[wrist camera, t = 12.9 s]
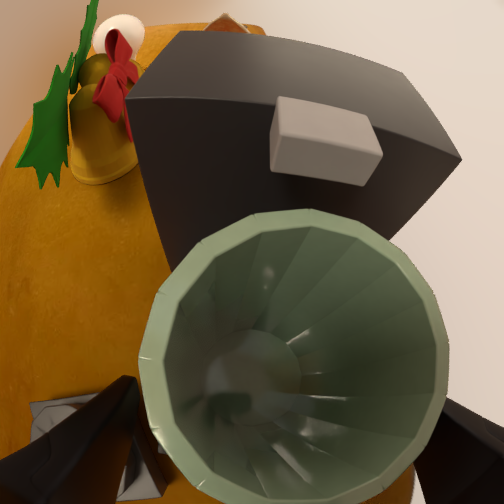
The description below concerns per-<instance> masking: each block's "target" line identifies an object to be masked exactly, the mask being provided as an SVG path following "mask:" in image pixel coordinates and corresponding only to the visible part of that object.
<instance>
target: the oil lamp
mask: <svg viewBox="0 0 504 504" xmlns="http://www.w3.org/2000/svg"><path fill="white" fill-rule="evenodd" d="M203 31H224V32H238V33H249V34H251V33H250V32H249V31H248V30H247V26H245V25H242V24H240V23H239V22H237V21H236V20H235V19H233V18H232V17H230V16H229V14H227V13H223V14H222V15H221V16H220V17H219V18H217V19H215V20H214V21H212V22H211V23H209V24H208V25H207V26H206V27H205V29H204V30H203Z"/></svg>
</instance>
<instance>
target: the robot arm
mask: <svg viewBox="0 0 504 504" xmlns="http://www.w3.org/2000/svg"><path fill="white" fill-rule="evenodd" d="M139 402H140V393H139V389H138V383H137V379H136V378H135V377H133V376H128V375H123V376H121V377H120V378H118V379H117V380H116V381H114V382H113V383H112V384H110V385H109V386H108V387H107V388H105V389H104V390H103V391H101V392H100V393H99V394H97V395H96V396H95V397H93V398H92V399H91V400H89V401H88V402H87V403H85V404H84V405H83V406H81V407H80V408H79V409H77V410H76V411H75V412H73V413H72V414H71V415H69V416H68V417H67V418H65V419H64V420H63V421H61V422H60V423H58V424H57V425H56V426H54V427H53V428H52V429H50V430H49V433H48V432H46V433H45V434H43V435H42V436H41V437H39V438H38V439H36V440H35V441H33V442H32V443H30V444H29V445H27V446H25V447H24V448H22V449H20V450H18V451H17V452H15V453H13V454H11V455H9V456H7V457H5V458H3V459H1V460H0V504H115V502H116V498H117V494H118V490H119V487H120V483H121V479H122V476H123V472H124V468H125V465H126V462H127V458H128V455H129V451H130V448H131V444H132V441H133V435H134V430H135V424H136V418H137V412H138V407H139ZM413 463H414V466H415V470H416V473H417V476H418V479H419V482H420V485H421V488H422V492H423V495H424V499H425V502H426V504H504V427H501V426H499V425H497V424H495V423H493V422H491V421H489V420H487V419H486V418H482V416H480V415H478V414H476V413H474V412H472V411H471V410H469V409H467V408H465V407H464V406H461V405H460V404H458V403H456V402H454V401H453V400H451V399H449V398H447V397H446V400H445V403H444V406H443V409H442V411H441V414H440V416H439V419H438V421H437V424H436V426H435V428H434V431H433V433H432V435H431V437H430V439H429V442H428V444H427V446H426V447H425V448H424V450H423V451H422V452H421V454H420V455H419V456H418V457H417V458H416V459H415V460H414V461H413Z"/></svg>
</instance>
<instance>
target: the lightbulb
mask: <svg viewBox="0 0 504 504" xmlns="http://www.w3.org/2000/svg"><path fill="white" fill-rule="evenodd" d="M111 29H118V30H119V31H120V32H121V34H122V35H123V36H124V38H125V39H126V40H127V42H128V43H129V45H130V46H131V47H132V49H133V53H132V56H131V58H130V59H132V60H134V61H135V60H136V55H137V52H138V51H139V49H140V47H141V45H142V43H143V41H144V38H145V29H144V26H143V24H142V22H141V21H140V20H139V19H138V18H136V17H135V16H132V15H128V14H120V15H116V16H113V17H110V18H108V19H107V20H105V21H104V22H103V23H102V24H101V25H100V26H99V27H98V29H97V30H96V32H95V34H94V38H93V47H94V50H95V52H96V54H99V53H106V51H105V45H104V44H105V38H106V35H107V33H108V32H109V31H110V30H111Z"/></svg>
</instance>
